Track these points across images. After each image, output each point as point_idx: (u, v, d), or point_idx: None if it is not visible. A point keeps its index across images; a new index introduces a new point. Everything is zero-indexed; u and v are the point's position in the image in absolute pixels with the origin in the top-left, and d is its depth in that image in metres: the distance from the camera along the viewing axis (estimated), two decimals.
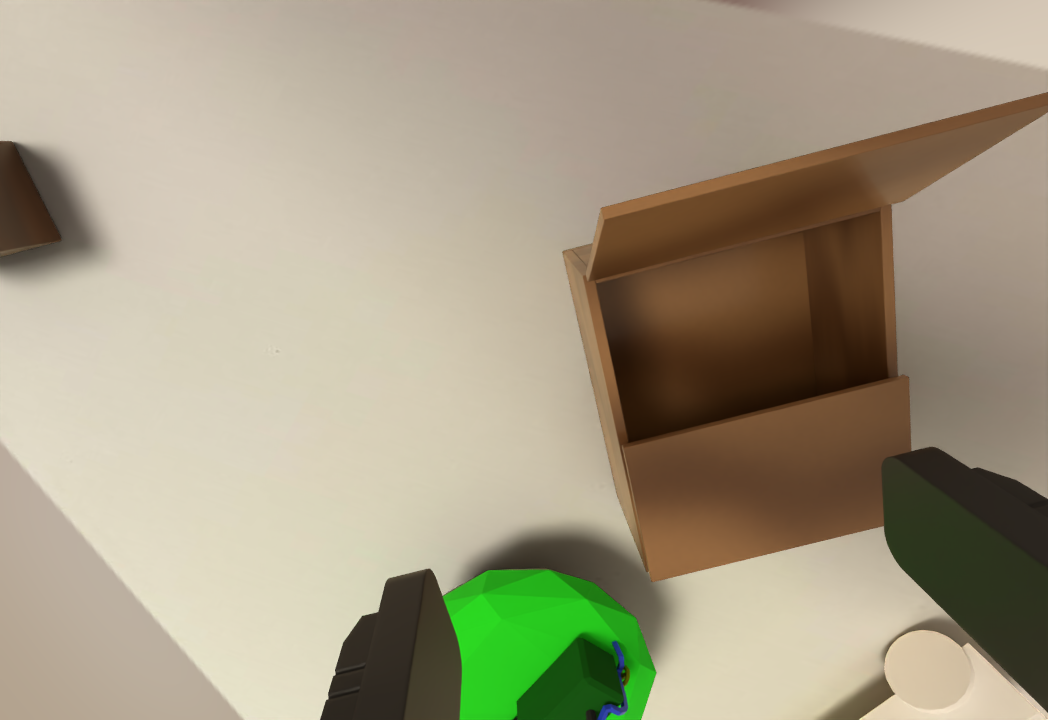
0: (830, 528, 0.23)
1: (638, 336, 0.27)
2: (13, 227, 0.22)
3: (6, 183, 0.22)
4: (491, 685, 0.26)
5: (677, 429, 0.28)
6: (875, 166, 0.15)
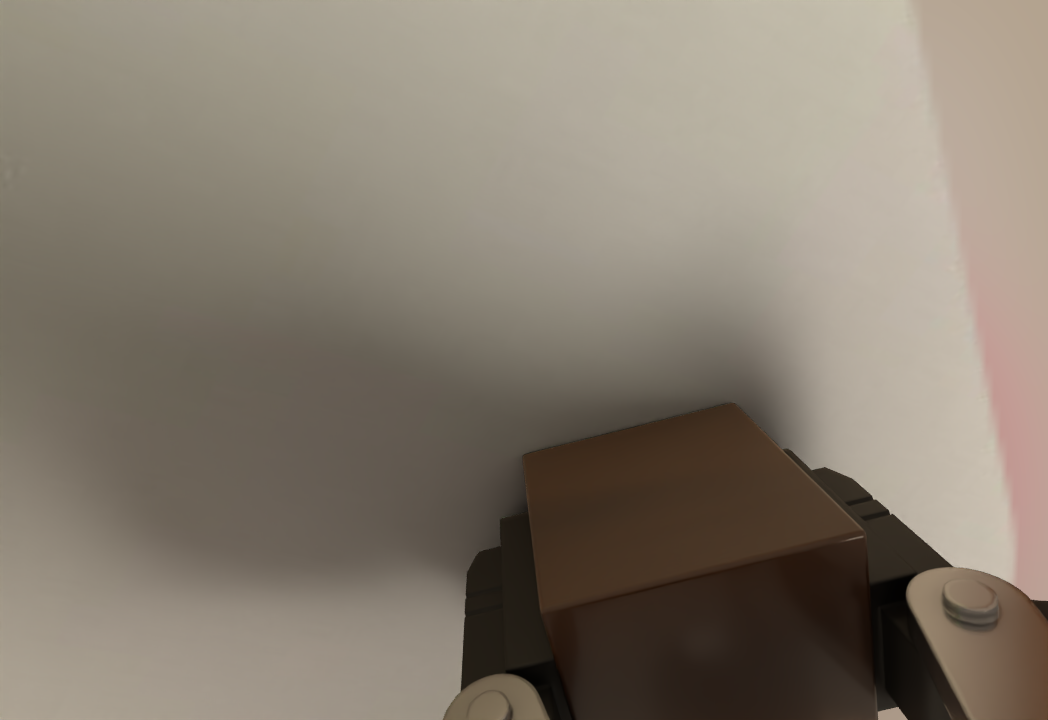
0: None
1: None
2: None
3: None
4: None
5: None
6: None
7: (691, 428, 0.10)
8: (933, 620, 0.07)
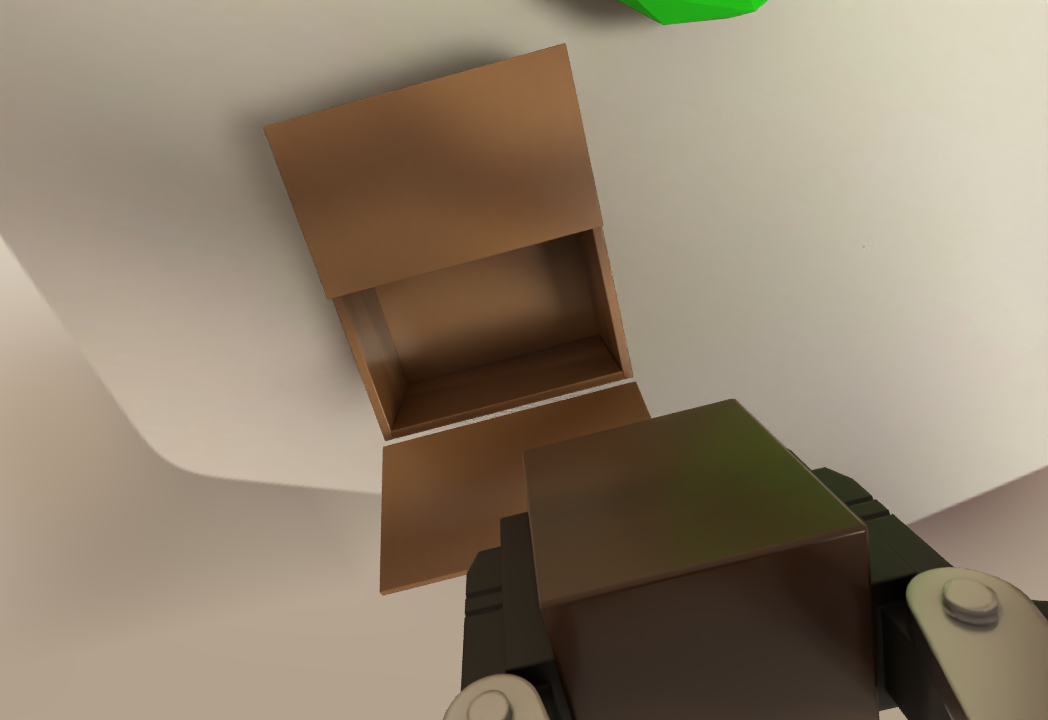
0: (361, 116, 0.20)
1: (538, 264, 0.28)
2: None
3: None
4: None
5: None
6: (480, 529, 0.21)
7: (691, 424, 0.10)
8: (933, 620, 0.07)
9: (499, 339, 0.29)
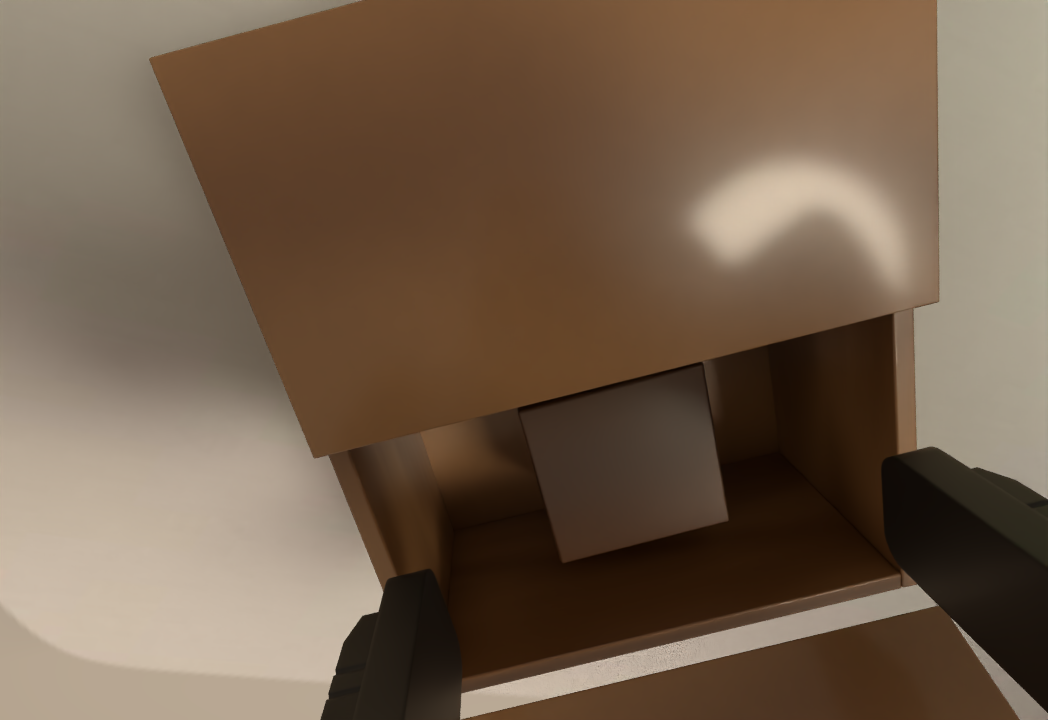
0: (400, 35, 0.08)
1: None
2: None
3: None
4: None
5: None
6: None
7: None
8: None
9: None
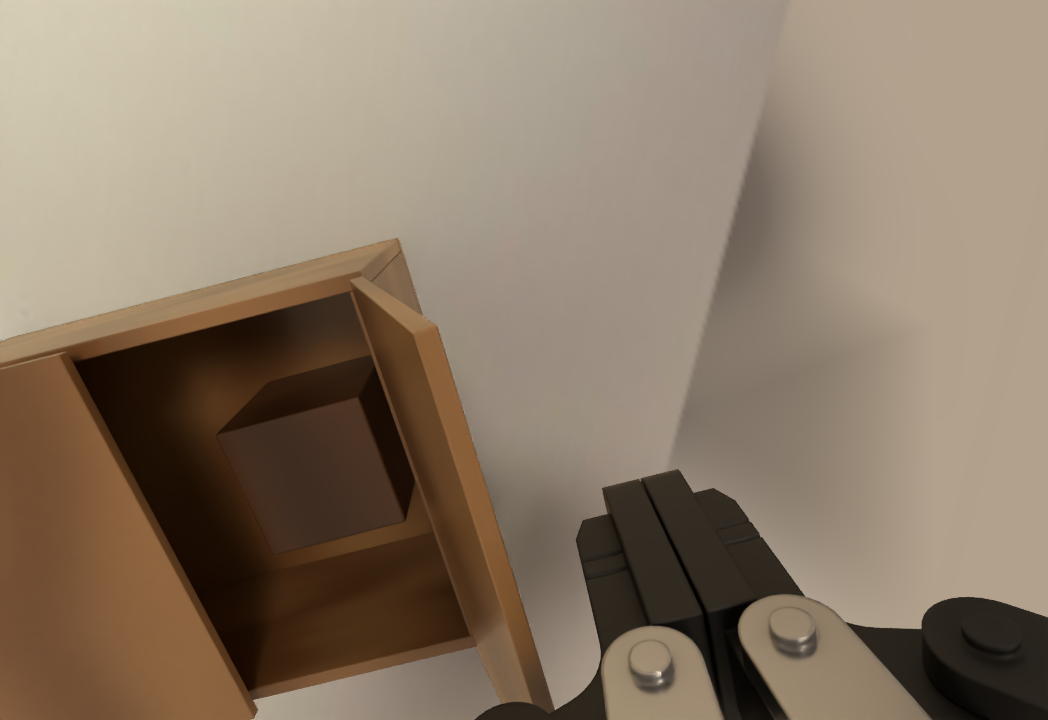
0: None
1: (283, 350, 0.19)
2: None
3: None
4: None
5: (146, 416, 0.19)
6: (518, 698, 0.10)
7: None
8: (755, 649, 0.07)
9: None
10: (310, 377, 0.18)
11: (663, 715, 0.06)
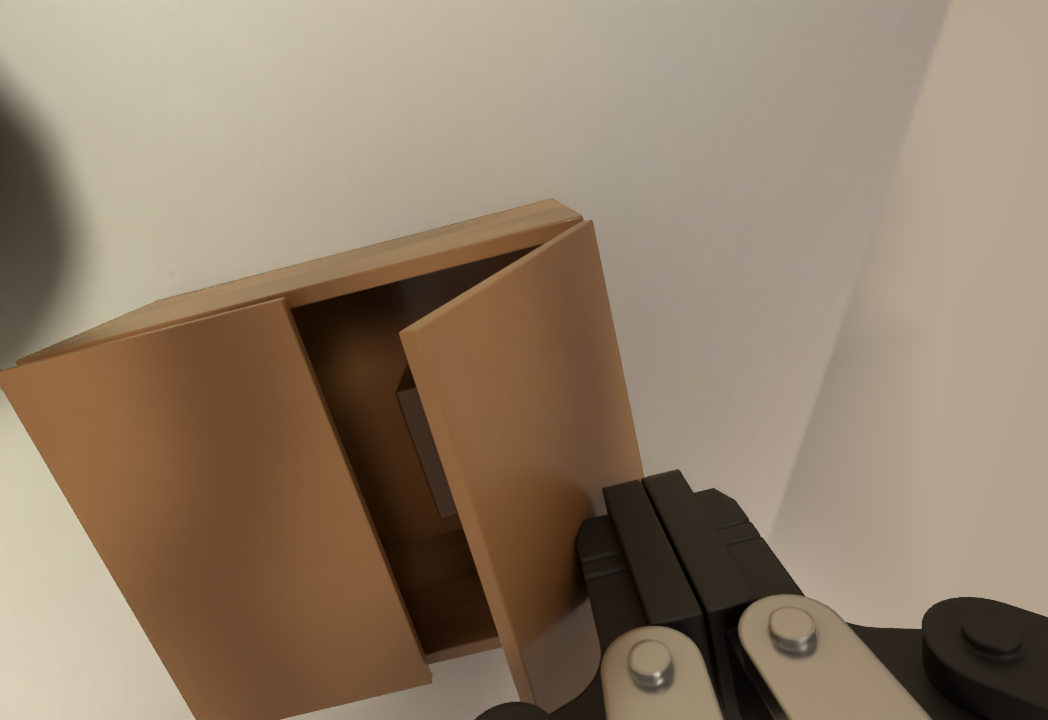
0: (169, 637, 0.15)
1: None
2: None
3: None
4: None
5: None
6: None
7: None
8: (755, 648, 0.07)
9: None
10: None
11: (663, 715, 0.06)
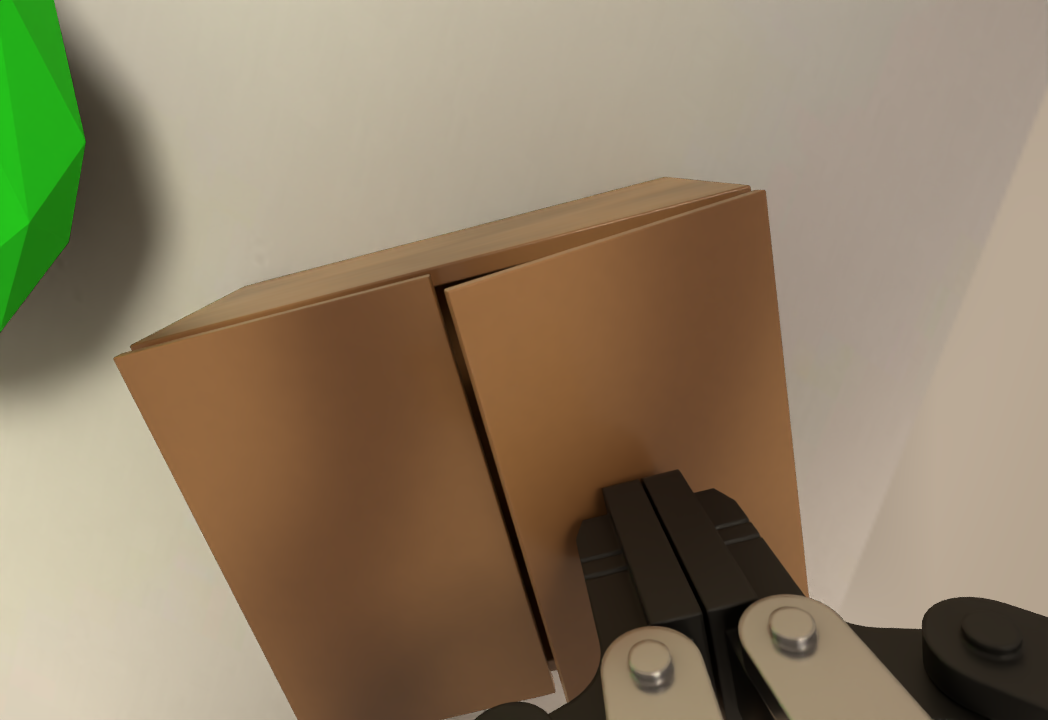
0: (282, 644, 0.14)
1: None
2: None
3: None
4: None
5: None
6: None
7: None
8: (755, 648, 0.07)
9: None
10: None
11: (663, 715, 0.06)
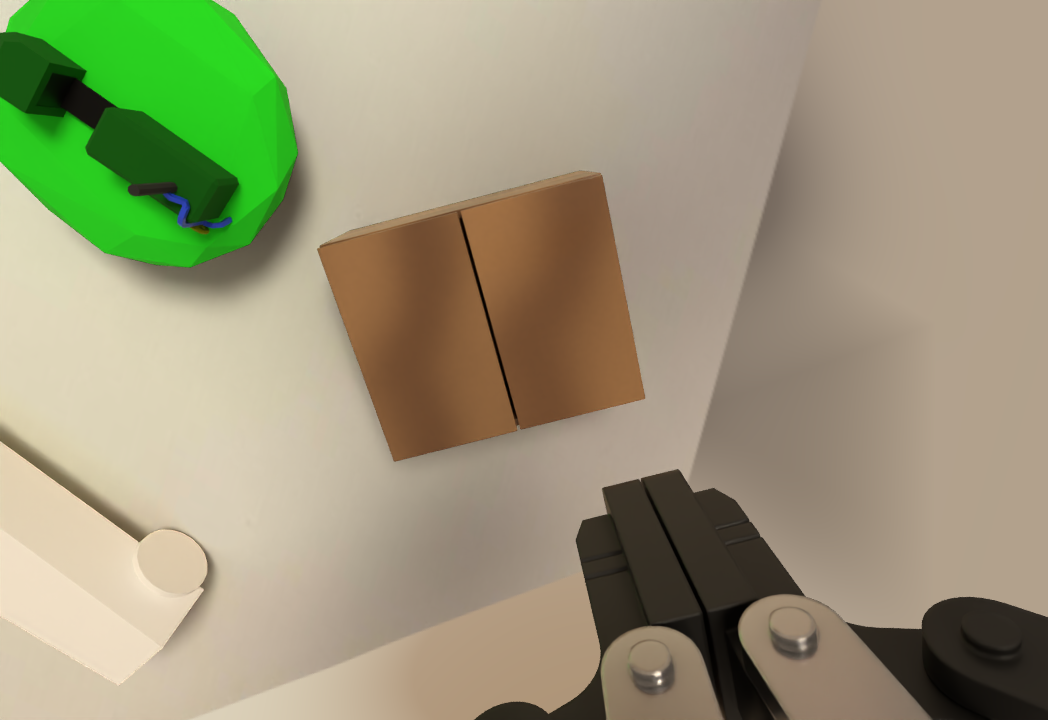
0: (382, 398, 0.28)
1: None
2: None
3: None
4: (160, 82, 0.23)
5: None
6: None
7: None
8: (755, 648, 0.07)
9: None
10: None
11: (663, 715, 0.06)
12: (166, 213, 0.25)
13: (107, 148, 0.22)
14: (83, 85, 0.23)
